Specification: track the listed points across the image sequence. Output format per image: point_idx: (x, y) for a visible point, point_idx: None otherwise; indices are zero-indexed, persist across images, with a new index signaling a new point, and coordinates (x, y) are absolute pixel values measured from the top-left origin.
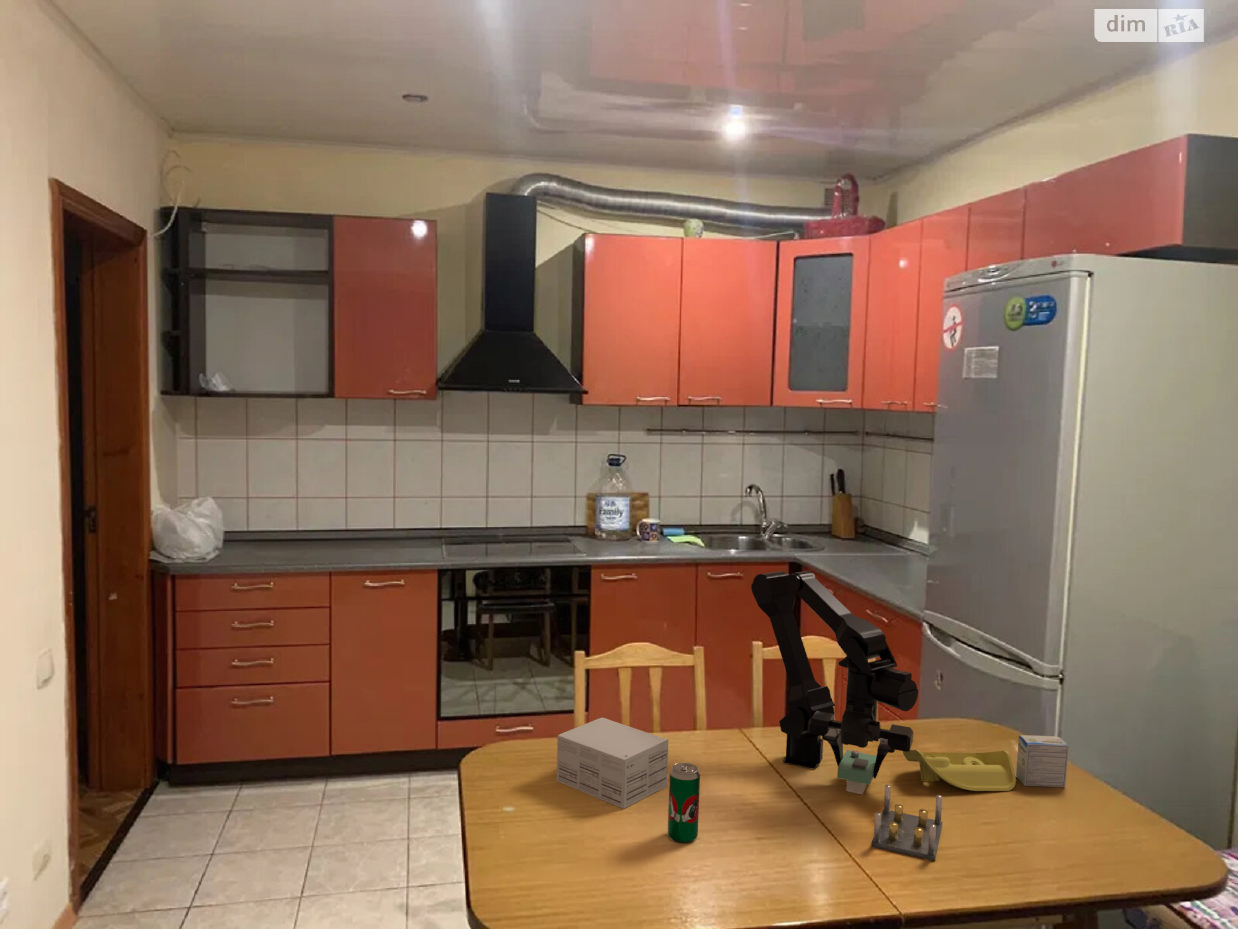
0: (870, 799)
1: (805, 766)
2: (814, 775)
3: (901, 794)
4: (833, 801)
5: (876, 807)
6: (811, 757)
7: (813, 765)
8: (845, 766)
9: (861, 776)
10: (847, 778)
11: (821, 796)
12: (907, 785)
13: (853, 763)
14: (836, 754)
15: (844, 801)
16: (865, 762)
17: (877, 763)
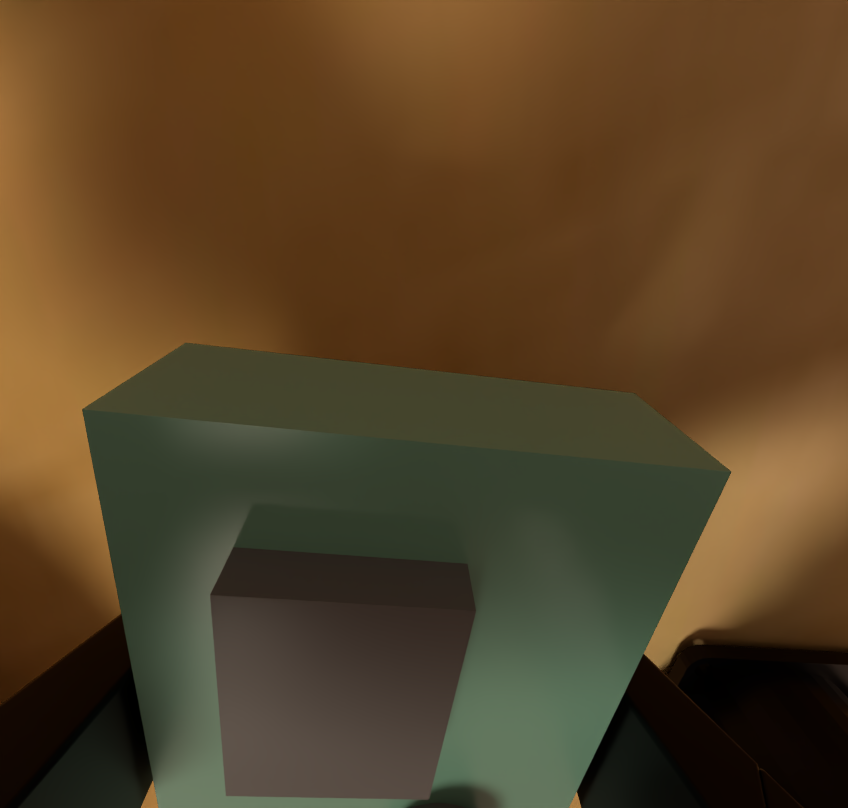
0: (251, 326)
1: (752, 653)
2: (698, 575)
3: (33, 509)
4: (607, 138)
5: (156, 154)
6: (741, 739)
7: (699, 676)
8: (582, 556)
9: (296, 392)
10: (509, 385)
11: (714, 220)
12: (48, 645)
13: (455, 643)
14: (753, 795)
15: (492, 184)
16: (252, 733)
17: (13, 754)
